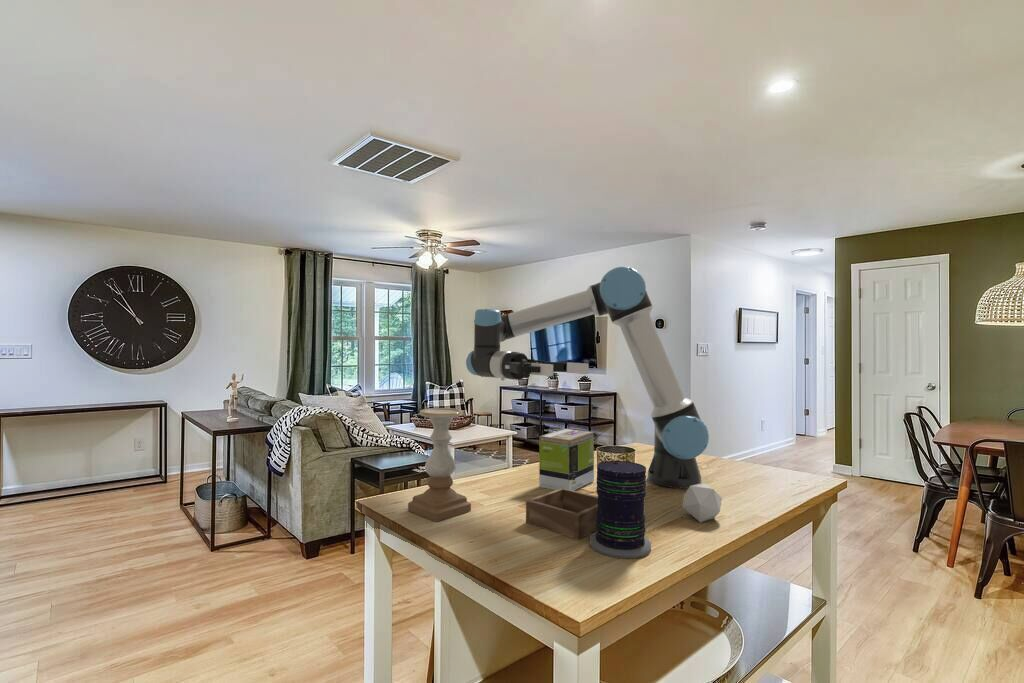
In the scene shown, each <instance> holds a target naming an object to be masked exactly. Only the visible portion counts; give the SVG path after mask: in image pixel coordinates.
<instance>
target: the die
mask: <svg viewBox="0 0 1024 683" xmlns="http://www.w3.org/2000/svg"><path fill="white" fill-rule="evenodd" d="M683 498H684V499H683V501H682V507H683V509H685V510H686V511H687V512H688V513H689V514H690V515H691V516H692V517H694V518H695V519H696V520H697V521H698V522H699V523H703V522H707V521H710V520H713V519H715V518H716V517H717V516H718V515H719V514H720V512H721V509H722V508H721V506H722V500H723V498H722V496H720V494H719V493H718V492H717V491H716V490H715V489H714V488H713V487H711V486H710V485H708V484H707V483H705V482H701V484H696V485H692V486H690V487H689V488H687V490H686V492H685V495H684V497H683Z"/></svg>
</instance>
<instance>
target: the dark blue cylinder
mask: <svg viewBox="0 0 1024 683" xmlns="http://www.w3.org/2000/svg"><path fill="white" fill-rule="evenodd" d="M596 469H597V471H596V493H597V496H598V510H597V512H596V531H595V533H596V532H597V534H596V541H597V542H598V543H599V544H601V545H603V546H605V547H608V548H611V549H616V550H636V549H639V548H642V547H643V546H644V545H645V539H644V537H645V538H646V530H647V529H646V526H647V525H646V515H645V498H646V495H647V489H646V488H647V475H646V474H647V467H646V466H645V465H643V464H642V463H641V464H640V463H636V462H632V461H625V460H624V461H623V460H607V461H606V460H605V461H602V462H601V461H600V462H598V463H597V465H596Z"/></svg>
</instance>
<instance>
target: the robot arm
mask: <svg viewBox="0 0 1024 683" xmlns="http://www.w3.org/2000/svg"><path fill="white" fill-rule="evenodd" d="M646 288H647V287H646V281H645V278H644V277H643V275H642V274H641V273H640V272H639V271H638V270H636V269H635V268H634V267H633V268H632V267H630V266H616V267H614V268H612V269H610V270H609V271H607V272H606V273H605V274H604V275H603V277H602V278H601V281H599V282H597V283H595V284H592V285H589V286H588V288H587V289H585V290H583V291H580V292H577V293H573V294H570V295H566V296H564V297H559V298H557V299H553V300H549V301H547V302H546V301H545V302H544V303H540V304H537V305H534V306H529V307H527V308H523V309H520V310H517V311H512V312H510V313H507V314H503V315H501V311H500V310H499V309H497V308H496V309H495V308H478V309H476V310H475V312H474V320H473V324H474V327H473V328H474V331H473V332H474V340H473V344H474V345H473V350H471V351H470V352H469V353H468V355H467V358H466V360H465V364H466V365H465V366H466V369H467V371H468V372H469V373H470V374H472V375H474V376H478V377H481V378H483V377H484V378H496V379H498V378H499V379H500V380H501V381H505V380H507V379H508V380H514V381H515V380H516V381H521V380H522V379H524V378H530V377H531V376H530V375H534V376H543V377H545V376H546V377H553V376H554V372H555V373H567V374H576V375H577V374H578V375H579V374H580V375H589V372H590V371H589V365H590V364H589V363H583V362H572V361H571V359H567V362H565V361H564V362H563V361H562V362H561V361H545V360H542V359H534V358H528V357H527V355H526V353H523V352H521V351H508V350H507V351H506V350H501V342H504V341H507V340H509V339H513V338H516V337H520V336H523V335H526V334H529V333H532V332H537V331H540V330H544V329H547V328H551V327H554V326H557V325H561V324H564V323H568V322H570V321H571V322H572V321H575V320H578V319H582V318H585V317H589V316H592V315H594V316H597V317H600V316H604V315H605V316H606V315H608V316H609V318H610V321H611V322H612V324H614V325H616V326H618V327H619V328H620V330H621V334H623V337H624V339H625V341H626V344H627V347H628V349H629V351H630V354H631V356H632V358H633V361H634V363H635V365H636V368H637V371H638V373H639V376H640V378H641V381H642V383H643V385H644V387H645V390H646V392H647V395H648V397H649V399H650V402H651V404H652V406H653V409H652V412H651V413H650V414H651V415H650V417H651V419H652V422H653V424H654V437H653V438H654V439H653V440H654V441H653V442H654V443H653V445H654V446H653V449H654V451H653V456H652V459H651V462H650V464H649V468H648V470H647V480H648V482H650V483H652V484H655V485H657V486H662V487H664V488H665V487H666V488H667V487H668V488H674V489H689V487H690V486H692V485H696V484H701V483H702V475H701V470H700V469H699V465H698V462H697V459H696V458H697V457H699V456H701V454H703V453H704V451H705V450H706V449H707V447H708V444H709V441H710V435H709V430H708V427H707V425H706V424H705V423H704V422H703V421H702V419H701V417H700V415H699V413H698V410H697V407H696V405H695V403H694V400H693V399H690V398H688V397H686V396H685V394H684V392H683V390H682V387H681V385H680V383H679V380H678V378H677V376H676V374H675V370H674V368H673V366H672V364H671V361H670V359H669V356H668V355H667V351H666V349H665V347H664V345H663V343H662V340H661V337H660V335H659V334H658V330H657V328H656V326H655V324H654V322H653V319H652V317H651V313H652V312H651V311H652V309H653V307H654V306H653V305H652V304H653V303H652V302H651V300H650V297H649V295H648V292H647V290H646Z"/></svg>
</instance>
